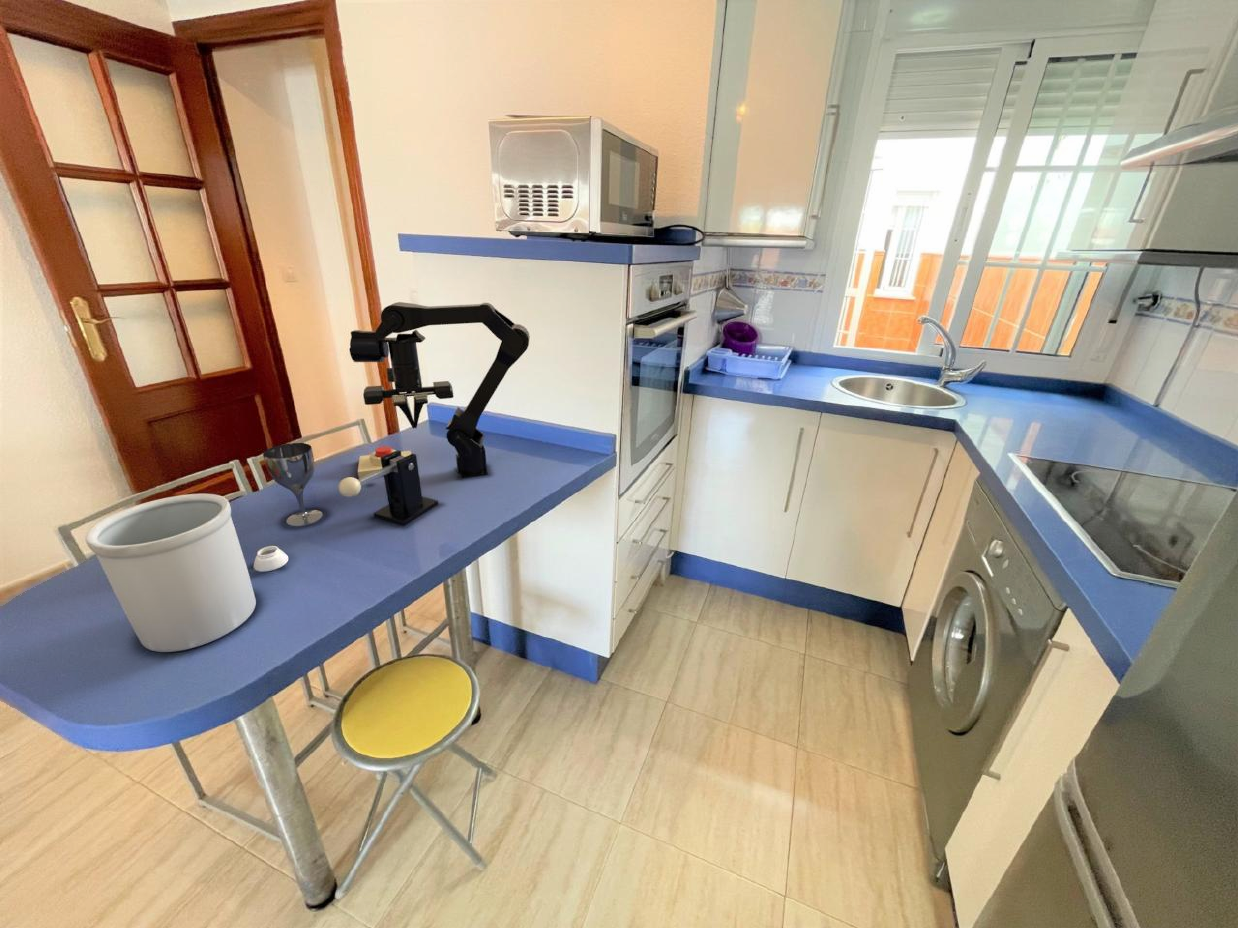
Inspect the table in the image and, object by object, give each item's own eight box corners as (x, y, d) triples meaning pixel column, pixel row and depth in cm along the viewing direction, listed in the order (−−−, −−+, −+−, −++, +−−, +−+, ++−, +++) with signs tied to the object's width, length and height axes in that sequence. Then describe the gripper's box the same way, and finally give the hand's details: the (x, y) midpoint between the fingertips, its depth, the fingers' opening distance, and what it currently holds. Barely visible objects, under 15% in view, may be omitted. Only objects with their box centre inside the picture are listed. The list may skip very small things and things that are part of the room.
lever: (350, 501, 90) (347, 483, 88) (335, 497, 91) (332, 479, 90) (412, 471, 103) (410, 455, 101) (399, 468, 104) (396, 452, 103)
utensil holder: (127, 619, 74) (80, 516, 67) (246, 576, 85) (215, 483, 77) (142, 673, 65) (89, 562, 58) (273, 618, 75) (241, 517, 68)
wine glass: (336, 514, 104) (320, 447, 98) (299, 532, 97) (280, 461, 91) (310, 505, 107) (293, 440, 101) (273, 522, 100) (253, 453, 94)
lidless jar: (273, 554, 90) (247, 570, 86) (269, 540, 89) (242, 556, 85) (295, 559, 89) (271, 575, 85) (291, 545, 88) (266, 561, 84)
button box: (411, 456, 132) (409, 444, 131) (412, 471, 124) (410, 458, 123) (360, 462, 128) (358, 449, 127) (358, 478, 120) (356, 464, 118)
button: (392, 452, 127) (391, 445, 126) (392, 457, 124) (391, 450, 123) (376, 453, 126) (375, 447, 125) (376, 459, 123) (375, 452, 122)
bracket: (404, 526, 100) (394, 468, 95) (374, 518, 103) (363, 461, 98) (438, 505, 109) (431, 450, 104) (409, 497, 112) (401, 444, 106)
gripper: (445, 352, 122) (452, 413, 128) (360, 357, 115) (372, 421, 122) (449, 362, 113) (457, 427, 119) (357, 367, 106) (370, 436, 112)
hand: (414, 427), depth 118 cm, fingers closed
